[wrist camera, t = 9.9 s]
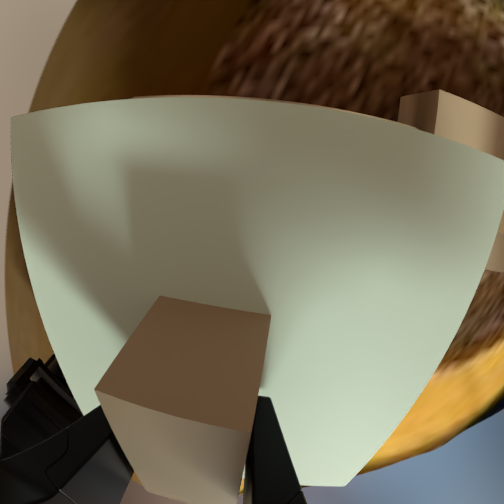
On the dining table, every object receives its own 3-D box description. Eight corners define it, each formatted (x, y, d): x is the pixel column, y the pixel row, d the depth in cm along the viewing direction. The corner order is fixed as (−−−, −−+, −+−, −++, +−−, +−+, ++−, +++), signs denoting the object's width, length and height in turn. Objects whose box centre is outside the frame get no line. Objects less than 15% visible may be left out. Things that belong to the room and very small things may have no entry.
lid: (108, 410, 15) (69, 479, 10) (50, 112, 8) (-79, 137, 3) (344, 456, 13) (344, 540, 9) (475, 153, 7) (613, 208, 2)
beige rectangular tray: (167, 309, 24) (137, 355, 19) (170, 71, 16) (124, 57, 11) (459, 347, 21) (481, 391, 16) (528, 148, 14) (577, 163, 9)
